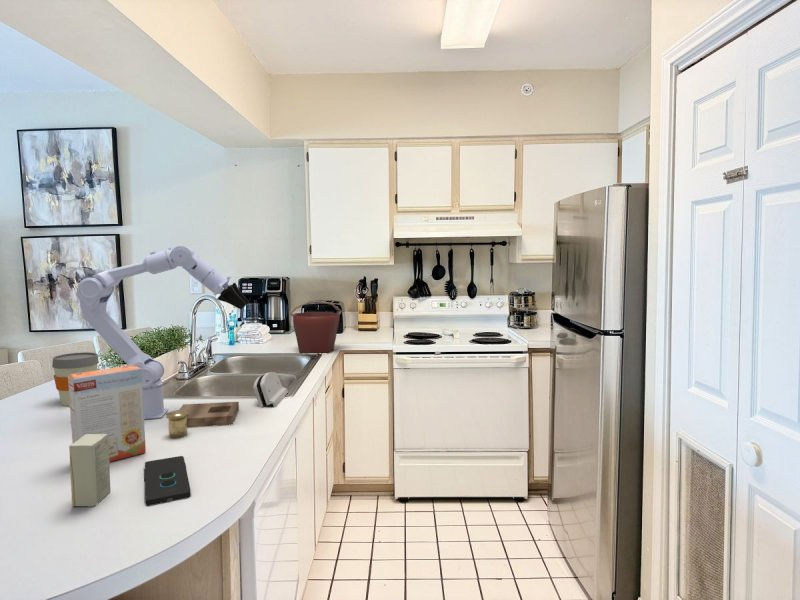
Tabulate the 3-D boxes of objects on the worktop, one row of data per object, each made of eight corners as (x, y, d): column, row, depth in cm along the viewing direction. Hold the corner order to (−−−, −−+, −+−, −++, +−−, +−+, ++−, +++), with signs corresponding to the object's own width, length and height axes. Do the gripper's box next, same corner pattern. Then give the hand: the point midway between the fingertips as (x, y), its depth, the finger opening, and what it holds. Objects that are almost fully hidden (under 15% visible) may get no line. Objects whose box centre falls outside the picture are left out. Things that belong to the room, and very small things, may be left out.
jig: (171, 428, 137) (171, 419, 137) (183, 412, 151) (183, 404, 150) (232, 424, 140) (232, 415, 140) (238, 409, 154) (238, 401, 154)
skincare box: (88, 492, 100) (85, 433, 99) (112, 491, 100) (109, 432, 99) (71, 508, 94) (67, 445, 93) (95, 507, 94) (92, 444, 93)
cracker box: (138, 446, 124) (134, 363, 122) (146, 453, 119) (142, 367, 118) (72, 463, 114) (67, 373, 112) (78, 471, 110) (73, 377, 108)
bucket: (344, 348, 257) (344, 299, 255) (335, 356, 235) (334, 303, 233) (298, 347, 259) (297, 299, 257) (284, 355, 238) (283, 303, 235)
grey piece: (275, 407, 156) (263, 378, 155) (261, 412, 156) (249, 382, 155) (288, 393, 173) (278, 366, 172) (275, 397, 173) (265, 370, 172)
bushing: (164, 439, 129) (163, 416, 128) (169, 432, 134) (169, 410, 133) (186, 438, 130) (186, 415, 129) (191, 431, 135) (190, 409, 134)
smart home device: (144, 500, 94) (143, 461, 112) (144, 508, 94) (144, 468, 112) (191, 490, 98) (184, 454, 116) (192, 499, 98) (184, 462, 116)
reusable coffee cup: (108, 400, 163) (106, 354, 162) (66, 410, 153) (63, 361, 151) (88, 394, 170) (86, 350, 169) (46, 403, 159) (44, 357, 158)
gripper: (213, 266, 141) (251, 297, 144) (221, 265, 155) (256, 293, 158) (196, 285, 140) (235, 316, 143) (206, 282, 155) (241, 310, 157)
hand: (245, 305), depth 150 cm, fingers open, 7 cm apart
